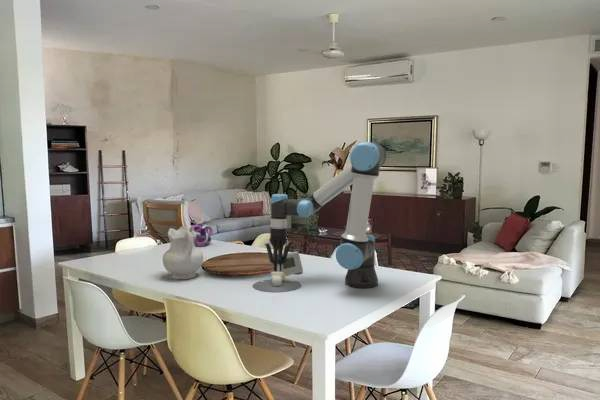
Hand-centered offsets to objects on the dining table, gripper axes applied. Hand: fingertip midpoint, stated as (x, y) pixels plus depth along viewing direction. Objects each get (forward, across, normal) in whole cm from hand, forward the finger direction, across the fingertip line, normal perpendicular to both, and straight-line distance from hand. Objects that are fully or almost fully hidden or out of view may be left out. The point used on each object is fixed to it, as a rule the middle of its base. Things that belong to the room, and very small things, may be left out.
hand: (277, 278), depth 214 cm
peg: (+1, 0, +3) cm, 3 cm away
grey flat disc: (+3, +2, +6) cm, 7 cm away
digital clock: (+2, -11, -12) cm, 16 cm away
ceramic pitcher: (+4, +37, -30) cm, 47 cm away
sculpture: (+2, +11, -108) cm, 109 cm away
